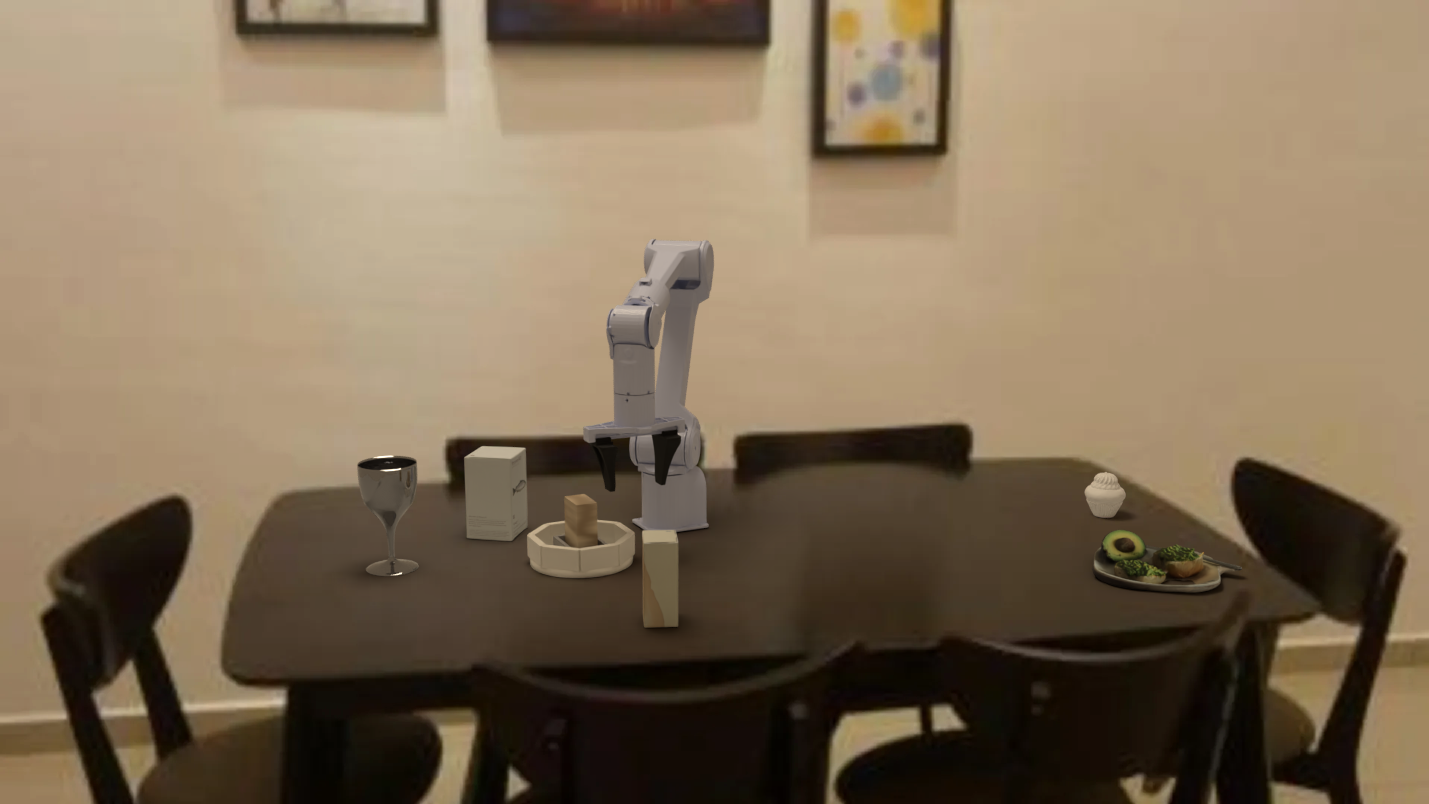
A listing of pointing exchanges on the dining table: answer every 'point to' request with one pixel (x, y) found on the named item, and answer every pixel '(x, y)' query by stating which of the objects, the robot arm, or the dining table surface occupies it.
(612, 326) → the robot arm
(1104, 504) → the muffin
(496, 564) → the dining table surface
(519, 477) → the supplement box
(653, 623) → the box
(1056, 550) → the dining table surface
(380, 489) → the wine glass
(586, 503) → the tan wooden block
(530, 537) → the octagonal cream tray
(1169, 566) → the salad plate
